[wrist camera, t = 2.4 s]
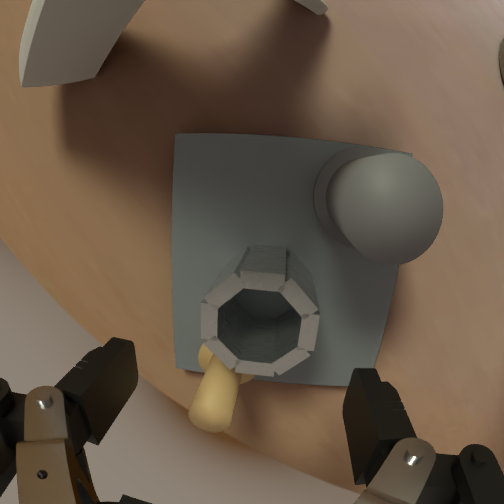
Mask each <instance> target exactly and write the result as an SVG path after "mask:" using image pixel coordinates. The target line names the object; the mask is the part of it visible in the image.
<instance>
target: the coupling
mask: <svg viewBox="0 0 504 504" xmlns="http://www.w3.org/2000/svg"><path fill="white" fill-rule="evenodd" d="M243 288H245V289H255V290H265V291H275V292H280V293H281V294H282V295H283V296H284V297H285V299H286V300H287V301H288V302H289V303H290V304H291V305H292V306H293V307H291V308H290V309H288V310H287V311H286V312H284V313H283V314H282V315H280V316H279V317H278V318H268V317H258V316H251V315H250V314H249V313H248V312H247V311H246V310H245V308H244V307H243V306H242V305H241V304H240V303H239V302H238V301H237V300H236V299H235V295H236V294H237V293H238V292H239V291H241V290H242V289H243ZM203 298H204V299H203V300H202V302H201V339H205V341H204V343H203V344H204V345H205V346H206V347H207V348H208V349H209V350H210V351H211V352H212V353H213V354H214V355H215V356H216V357H217V358H218V359H219V360H220V361H221V362H222V363H223V364H224V365H225V366H226V367H227V368H229V369H230V370H231V369H232V368H234V367H235V372H237V373H245V374H253V375H262V376H272V377H274V371H275V372H276V373H277V374H278V375H281V374H282V373H284V372H286V371H287V370H289V369H290V368H292V367H294V366H295V365H297V364H298V363H300V362H302V361H303V360H305V359H306V358H308V357H309V356H311V354H310V351H314V348H315V342H316V337H317V331H318V325H319V319H320V311H319V306H318V301H317V297H316V292H315V287H314V282H313V278H312V274H311V273H310V272H309V270H308V269H307V268H306V267H305V266H304V264H303V263H302V262H301V261H300V260H299V258H298V257H297V256H296V255H295V254H294V253H293V251H292V250H290V251H288V252H287V253H286V247H279V246H268V245H257V244H253V246H252V248H250V247H249V246H248V247H246V248H245V249H244V250H243V251H242V252H240V253H239V254H238V255H237V256H236V257H234V258H233V259H232V260H231V261H230V262H229V263H227V264H226V265H225V266H224V268H223V269H222V271H221V272H220V273H219V275H218V276H217V278H216V279H215V281H214V282H213V284H212V285H211V287H210V288H209V290H208V291H207V293H206V294H205V296H204V297H203Z"/></svg>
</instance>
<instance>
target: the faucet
mask: <svg viewBox="0 0 504 504" xmlns="http://www.w3.org/2000/svg"><path fill="white" fill-rule="evenodd" d="M144 1H145V0H33V1H32V4H31V7H30V10H29V14H28V17H27V21H26V24H25V28H24V32H23V36H22V40H21V45H20V53H19V74H20V82H21V87H42V86H53V85H60V84H67V83H73V82H78V81H83V80H87V79H91V78H95V76H96V75H97V73H98V71H99V69H100V68H101V66H102V64H103V62H104V61H105V59H106V57H107V56H108V54H109V52H110V51H111V49H112V47H113V46H114V44H115V43H116V41H117V39H118V38H119V36H120V35H121V33H122V32H123V30H124V29H125V27H126V26H127V24H128V23H129V22H130V20H131V19H132V17H133V16H134V14H135V13H136V12H137V10H138V9H139V8H140V6H141V5H142V4H143V2H144ZM294 1H296V2H298V3H300V4H301V5H303V6H305V7H306V8H308V9H309V10H311V11H312V12H314V13H315V14H317V15H322V14H324V13H325V12H326V11H327V10H328V7H327V4H326V2H325V1H324V0H294Z"/></svg>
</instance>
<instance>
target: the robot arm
mask: <svg viewBox="0 0 504 504" xmlns="http://www.w3.org/2000/svg"><path fill="white" fill-rule="evenodd" d="M499 62H500V69H501V74H502V78H503V81H504V39H503V40H502V43H501V45H500V51H499ZM137 383H138V369H137V362H136V354H135V347H134V343H133V342H132V341H130V340H125V339H121V338H116V337H113V338H111V339H110V340H109V341H108V342H107V343H106V344H105V345H104V346H103V347H98V348H96V349H94V350H92V351H90V352H88V353H87V354H86V355H85V356H84V357H83V358H82V360H81V361H79V362H78V363H77V364H76V366H75V367H73V368H72V369H71V370H70V372H68V373H67V374H66V375H65V376H64V377H63V378H62V379H61V380H60V381H59V382H58V383H57V384H56V385H55V386H54V387H51V386H41V387H37V388H35V389H33V390H31V391H30V392H29V393H28V395H26V394H20V393H15V392H11V389H10V387H9V385H8V382H7V381H6V380H4V379H2V378H0V497H1V495H2V494H3V492H4V491H5V489H6V488H7V486H8V485H9V483H10V482H11V480H12V479H13V477H14V476H15V475H16V473H17V485H18V497H19V504H152V503H148V502H145V501H142V500H138V499H136V498H132V497H129V496H127V495H122V497H121V500H120V502H100V501H99V498H98V496H97V494H96V491H95V489H94V486H93V482H92V478H91V474H90V470H89V467H88V462H87V458H86V454H85V449H84V447H83V446H84V444H85V443H86V442H87V441H88V442H91V443H93V444H96V445H99V443H100V442H101V440H102V439H103V437H104V436H105V434H106V433H107V431H108V430H109V428H110V426H111V425H112V423H113V422H114V420H115V419H116V417H117V416H118V414H119V413H120V411H121V410H122V408H123V407H124V405H125V404H126V402H127V401H128V399H129V398H130V396H131V395H132V393H133V391H134V390H135V388H136V386H137ZM343 419H344V425H345V430H346V435H347V441H348V446H349V452H350V458H351V464H352V470H353V476H354V482H355V485H360V484H366V487H367V488H366V489H365V490H364V491H363V492H362V494H361V495H360V496H359V498H358V499H357V500H356V502H355V503H354V504H504V475H503V472H502V470H501V468H500V466H499V464H498V462H497V460H496V458H495V455H494V454H493V452H492V451H491V450H490V449H489V448H487V447H485V446H483V445H479V444H471V445H468V446H466V447H465V448H463V450H462V451H461V452H460V454H459V455H447V454H438V453H435V450H434V448H433V447H432V446H431V445H430V444H429V443H428V442H426V441H424V440H422V439H419V438H417V436H416V434H415V432H414V429H413V427H412V424H411V422H410V420H409V417H408V415H407V413H406V410H404V406H403V403H402V402H401V399H400V396H399V394H398V392H397V390H396V389H395V388H394V387H393V386H392V385H391V384H390V383H389V382H381V380H380V377H379V375H378V372H377V370H376V369H375V368H355V369H354V370H353V372H352V376H351V379H350V382H349V386H348V389H347V392H346V396H345V399H344V403H343Z"/></svg>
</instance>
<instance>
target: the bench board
mask: <svg viewBox="0 0 504 504" xmlns="http://www.w3.org/2000/svg"><path fill="white" fill-rule="evenodd" d="M442 218H443V200H442V195H441V191H440V188H439V185H438V183H437V181H436V179H435V178H434V176H433V175H432V173H431V172H430V171H429V170H428V168H427V167H426V166H425V165H423V164H422V163H421V162H420V161H418V160H416V159H415V158H412V154H410V153H405V152H400V151H395V150H389V149H383V148H377V147H371V146H364V145H358V144H350V143H343V142H335V141H327V140H318V139H308V138H297V137H285V136H270V135H253V134H224V133H175V145H174V163H173V186H172V230H171V259H172V303H173V326H174V344H175V359H176V368H180V369H185V370H191V371H197V372H203V373H205V374H204V377H203V379H202V381H201V384H200V386H199V388H198V391H197V393H196V396H195V398H194V400H193V403H192V405H191V407H190V410H189V418H190V420H191V421H192V423H193V424H194V425H195V426H197V427H198V428H200V429H202V430H205V431H208V432H221V431H224V430H226V429H227V428H228V427H229V426H230V423H231V419H232V415H233V411H234V407H235V403H236V399H237V395H238V391H239V387H240V384H244V383H246V382H248V381H250V380H251V379H253V380H262V381H271V382H282V383H294V384H309V385H328V386H349V382H350V379H351V376H352V372H353V370H354V369H355V368H374V365H375V361H376V358H377V355H378V351H379V348H380V344H381V340H382V337H383V333H384V329H385V325H386V322H387V318H388V313H389V309H390V305H391V301H392V296H393V292H394V287H395V282H396V277H397V272H398V267H399V264H404V263H407V262H410V261H412V260H414V259H416V258H417V257H419V256H420V255H422V254H423V253H424V252H425V251H426V250H427V249H428V248H429V247H430V246H431V244H432V243H433V241H434V240H435V238H436V236H437V234H438V232H439V229H440V226H441V223H442ZM253 244H257V245H268V246H279V247H286V253H287V252H288V251H290V250H292V251H293V253H294V254H295V255H296V256H297V257H298V258H299V260H300V261H301V262H302V263H303V264H304V266H305V267H306V268H307V269H308V270H309V272H310V273H311V274H312V278H313V282H314V287H315V292H316V297H317V301H318V306H319V311H320V319H319V325H318V331H317V337H316V342H315V348H314V351H310V354H311V356H309V357H308V358H306V359H305V360H303V361H302V362H300V363H298V364H297V365H295V366H294V367H292V368H290V369H289V370H287V371H286V372H284V373H282V374H281V375H278V374H277V373H276V372H275V371H274V377H272V376H262V375H253V374H245V373H237V372H235V367H234V368H232V369H231V370H230V369H229V368H227V367H226V366H225V365H224V364H223V363H222V362H221V361H220V360H219V359H218V358H217V357H216V356H215V355H214V354H213V353H212V352H211V351H210V350H209V349H208V348H207V347H206V346H205V345H204V344H203V343H204V341H205V339H201V302H202V300H203V299H204V298H203V297H204V296H205V294H206V293H207V291H208V290H209V288H210V287H211V285H212V284H213V282H214V281H215V279H216V278H217V276H218V275H219V273H220V272H221V271H222V269H223V268H224V266H225V265H226V264H227V263H229V262H230V261H231V260H232V259H233V258H234V257H236V256H237V255H238V254H239V253H240V252H242V251H243V250H244V249H245V248H246V247H248V246H249V247H250V248H252V246H253ZM235 299H236V300H237V301H238V302H239V303H240V304H241V305H242V306H243V307H244V308H245V310H246V311H247V312H248V313H249V314H250V315H251V316H258V317H268V318H278V317H279V316H280V315H282V314H283V313H284V312H286V311H287V310H288V309H290V308H291V307H293V306H292V305H291V304H290V303H289V302H288V301H287V300H286V299H285V297H284V296H283V295H282V294H281V293H280V292H275V291H265V290H255V289H245V288H243V289H242V290H241V291H239V292H238V293H237V294H236V295H235Z"/></svg>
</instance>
